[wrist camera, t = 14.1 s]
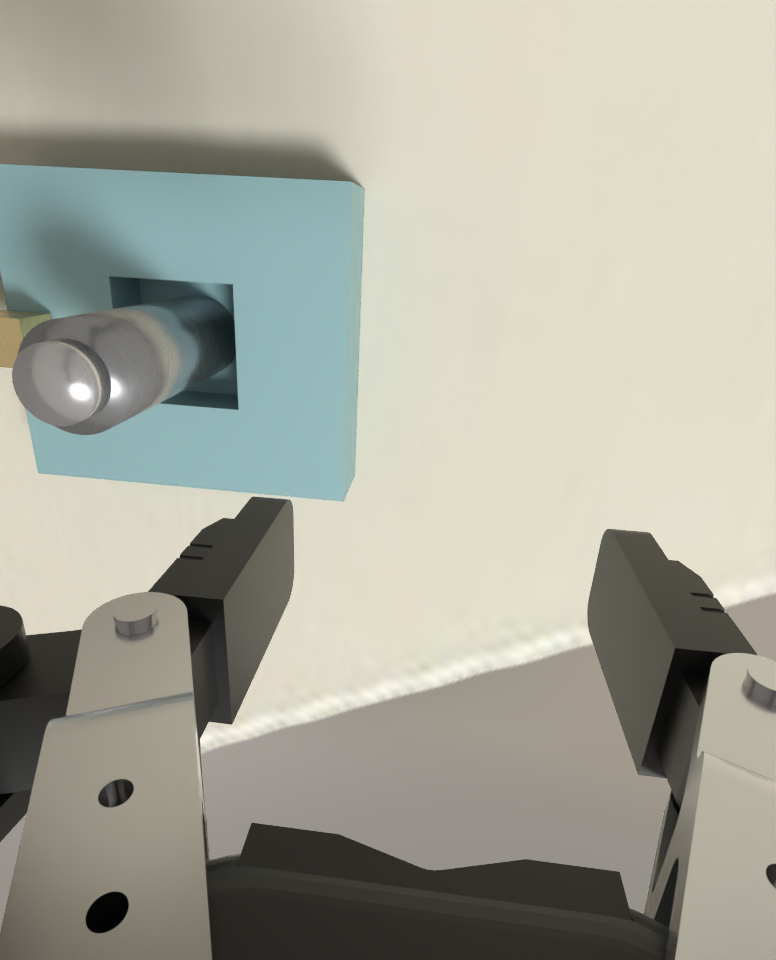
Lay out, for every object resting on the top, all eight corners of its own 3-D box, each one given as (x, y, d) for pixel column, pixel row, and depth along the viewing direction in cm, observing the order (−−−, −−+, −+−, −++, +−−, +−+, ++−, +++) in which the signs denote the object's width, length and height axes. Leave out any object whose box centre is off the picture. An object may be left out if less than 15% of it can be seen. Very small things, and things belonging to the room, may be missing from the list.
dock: (35, 172, 32) (-21, 162, 28) (364, 188, 30) (351, 181, 27) (78, 450, 38) (38, 473, 34) (354, 475, 36) (343, 501, 33)
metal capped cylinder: (160, 292, 33) (-18, 317, 20) (238, 298, 32) (104, 327, 20) (166, 371, 34) (5, 438, 22) (240, 377, 34) (118, 450, 22)
